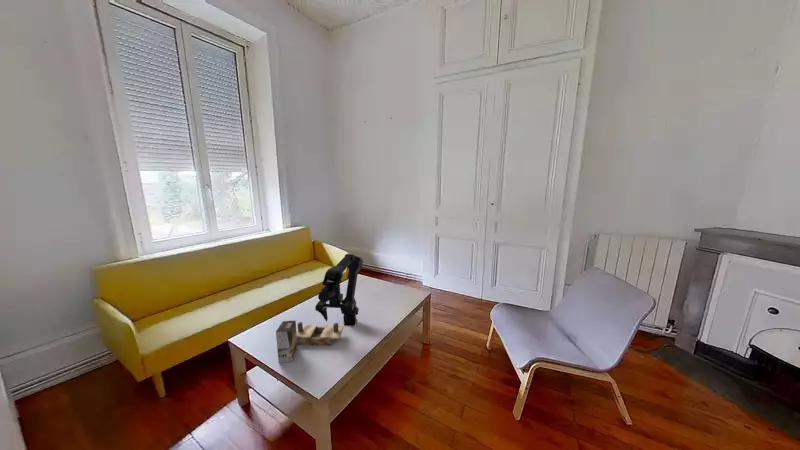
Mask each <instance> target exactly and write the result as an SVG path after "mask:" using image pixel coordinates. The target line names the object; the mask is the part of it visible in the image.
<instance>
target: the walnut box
mask: <svg viewBox="0 0 800 450" xmlns="http://www.w3.org/2000/svg"><path fill="white" fill-rule="evenodd" d="M324 328H325V326H317V327H316V329H315V331H314V332H313V334H312V336H311V338H297V346H326V347H328V346H329V347H331V345H332V343H333V341H334V339H323V338H320V336H321V334H322V332H323V330H324Z"/></svg>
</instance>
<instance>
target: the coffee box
mask: <svg viewBox="0 0 800 450" xmlns="http://www.w3.org/2000/svg"><path fill="white" fill-rule="evenodd" d="M296 321H297V320H283V321H282V322H281V323H280V324H279V327H278V328H277V329H276V331H275V337H276V349H277V360H278V363H292V362H293V360H294V358H295V356H296V354H297V351H298V350H299V349H298V345H297V333H296V328H297V324H296V323H297V322H296Z"/></svg>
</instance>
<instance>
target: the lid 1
mask: <svg viewBox="0 0 800 450" xmlns="http://www.w3.org/2000/svg"><path fill="white" fill-rule="evenodd" d="M316 327H318V325H317V324H303V322H302V321H299V322H298V323H297V326H296V333H297V338H311V336H312V334H313V332H314V331H315V329H316Z"/></svg>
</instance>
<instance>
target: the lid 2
mask: <svg viewBox="0 0 800 450" xmlns="http://www.w3.org/2000/svg"><path fill="white" fill-rule="evenodd" d="M344 326H345V325H339V323H338V322H335V323H333V325H325V326H324V327H325V328H324V330H323V332H322V334H321V336H320V338H323V339H333V340H336V339H337V340H340V339H341V336H342V333H343V331H344V328H345V327H344Z"/></svg>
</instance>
